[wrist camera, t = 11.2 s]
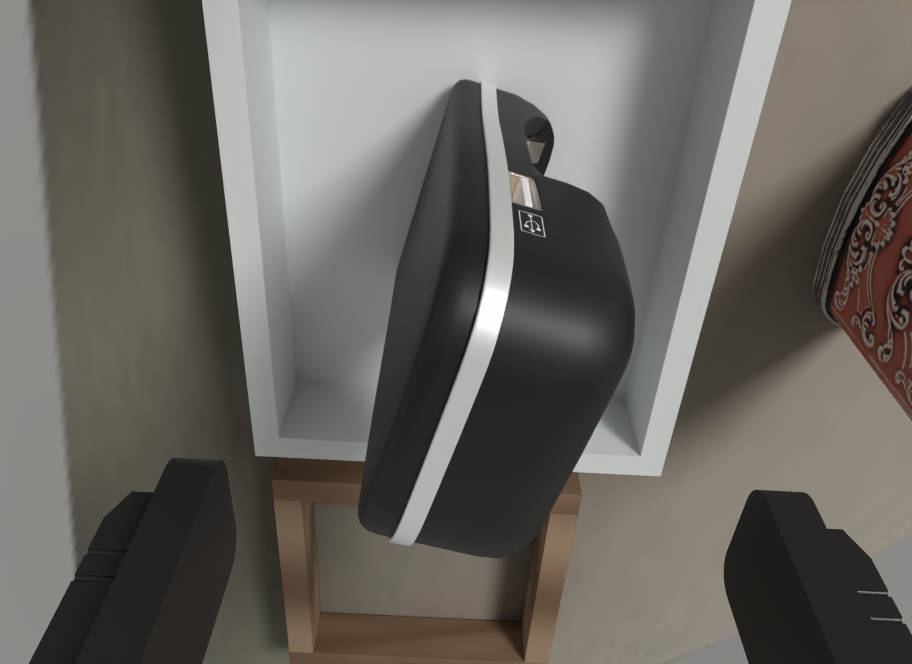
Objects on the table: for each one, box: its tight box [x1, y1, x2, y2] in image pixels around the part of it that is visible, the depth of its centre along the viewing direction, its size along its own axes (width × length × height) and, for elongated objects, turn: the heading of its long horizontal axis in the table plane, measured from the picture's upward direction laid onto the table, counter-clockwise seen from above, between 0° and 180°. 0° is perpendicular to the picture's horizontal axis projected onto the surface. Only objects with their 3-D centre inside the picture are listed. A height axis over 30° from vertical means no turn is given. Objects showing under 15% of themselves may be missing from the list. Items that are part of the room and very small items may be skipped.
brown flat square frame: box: [272, 457, 582, 664], centre depth 31 cm, size 11×11×2 cm
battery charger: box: [358, 79, 635, 558], centre depth 18 cm, size 7×4×11 cm, turn 163°
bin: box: [202, 0, 792, 476], centre depth 22 cm, size 16×13×4 cm
